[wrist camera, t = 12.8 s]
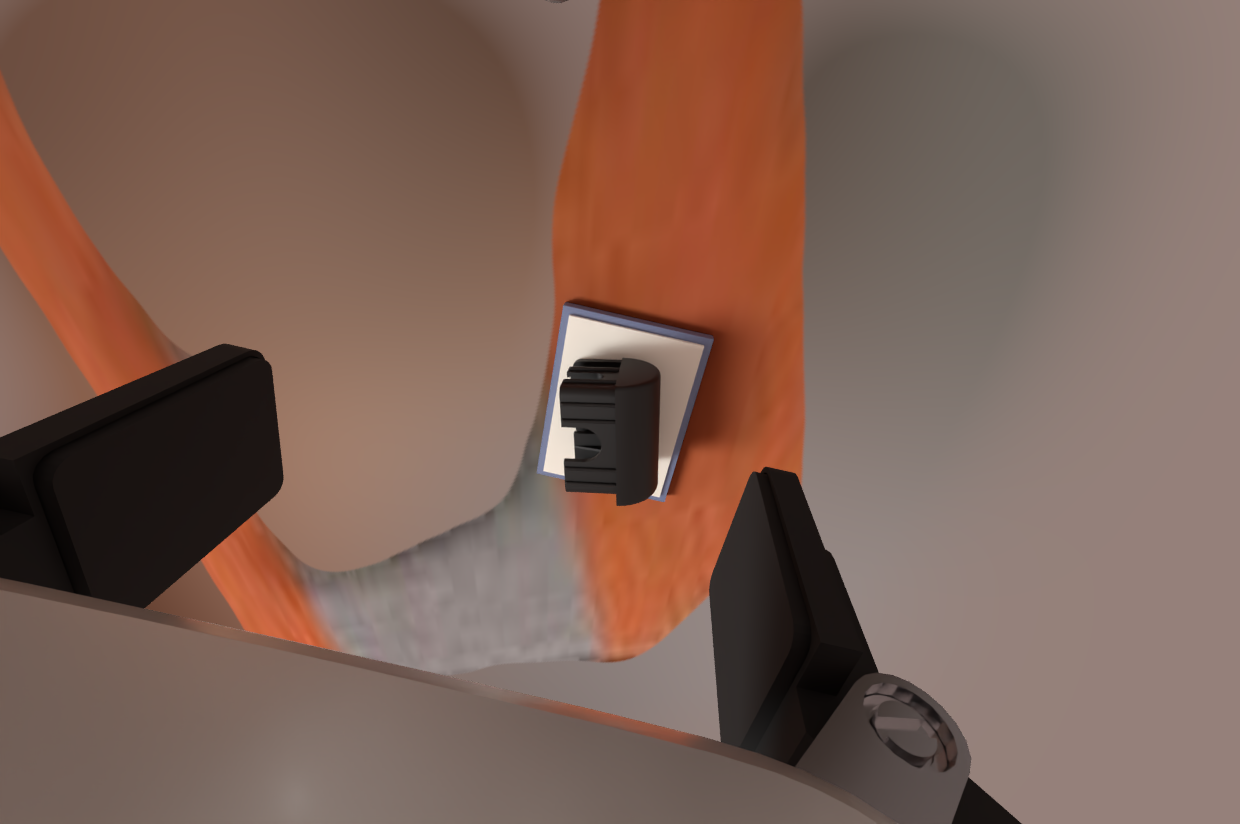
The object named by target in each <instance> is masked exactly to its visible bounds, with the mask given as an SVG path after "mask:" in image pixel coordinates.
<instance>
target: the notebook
mask: <svg viewBox="0 0 1240 824" xmlns="http://www.w3.org/2000/svg"><path fill="white" fill-rule="evenodd" d="M713 340H714V339H713V336H712V335H707V334H703V333H699V332H694V331H690V330H686V329H681V328H677V327H673V326H668V325H664V324H660V323H655V322H651V321H646V320H642V319H638V318H633V317H629V316H625V315H620V314H616V313H612V312H607V311H603V310H599V309H594V308H590V307H586V306H581V305H577V304H572V303H568V302H565V304H564V305H563V311H562V318H561V324H560V330H559V336H558V343H557V349H556V355H555V361H554V368H553V374H552V380H551V387H550V393H549V399H548V405H547V412H546V418H545V424H544V430H543V437H542V443H541V449H540V456H539V462H538V468H537V473H538V474H542V475H547V476H551V477H556V478H560V479H564V480H565V475H564V459H565V458H571V459H575V450H574V431H576V428H568V427H561V415H560V399H559V390H560V385H561V383H562V381H563V379H571V377H567V371H568V369H569V367H570V366H573V364H574V362H575V361H576V360H578V359H608V360H622V358H633V359H639V360H643V361H646V362H649V363H651V364H653V365H654V366H656V367H657V368H658V369H659V371H660V374H661V388H660V424H659V460H658V485H657V489H656V490H655V492H654V493H653V494H652V495H651V496H650V497H649V498H648V499H653V500H657V501H661V502H665V499H666V495H667V492H668V489H669V485H670V482H671V479H672V475H673V472H674V469H675V466H676V462H677V459H678V456H679V452H680V449H681V446H682V443H683V439H684V436H685V433H686V429H687V426H688V423H689V419H690V416H691V413H692V410H693V406H694V403H695V400H696V396H697V393H698V390H699V386H700V383H701V380H702V377H703V373H704V370H705V367H706V363H707V360H708V357H709V354H710V350H711V347H712V344H713Z"/></svg>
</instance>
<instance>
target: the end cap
mask: <svg viewBox="0 0 1240 824" xmlns="http://www.w3.org/2000/svg"><path fill="white" fill-rule="evenodd" d="M567 377H571V379H563V381H562V383H561V385H560V390H559V399H560V415H561V427H568V428H576V431H574V450H575V459H571V458H565V459H564V475H565V489H566V492H586V493H607V494H616V502H617V506H626V505H632V504H636V503H639V502H642V501H644V500H646V499H647V498H649V497H650V496H651V495H652V494H653V493H654V492H655V490H656V489H657V485H658V460H659V424H660V388H661V374H660V371H659V369H658V368H657V367H656V366H654V365H653V364H651V363H649V362H646V361H643V360H639V359H633V358H622V360H608V359H578V360H576V361H575V362H574V364H573V366H570V367H569V369H568V371H567Z"/></svg>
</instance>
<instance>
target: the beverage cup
mask: <svg viewBox="0 0 1240 824" xmlns="http://www.w3.org/2000/svg"><path fill="white" fill-rule="evenodd" d="M546 1H548V2H554V3H562V2H565V1H567V0H546Z"/></svg>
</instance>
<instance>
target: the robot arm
mask: <svg viewBox="0 0 1240 824" xmlns="http://www.w3.org/2000/svg"><path fill="white" fill-rule="evenodd" d="M282 484H283V467H282V458H281V449H280V439H279V430H278V422H277V412H276V403H275V394H274V384H273V375H272V369H271V365H270V364H269V362H267V361H266V360H265V359H264V357H263V355H262V354H261V353H260V352H258V351H256V350H251V349H247V348H243V347H238V346H234V345H230V344H221V345H218V346H215V347H213V348H211V349H208V350H206V351H204V352H201V353H199V354H196V355H194V356H192V357H189V358H187V359H185V360H182V361H180V362H177V363H175V364H173V365H170V366H168V367H166V368H163V369H161V370H159V371H156V372H154V373H151V374H149V375H147V376H144V377H142V378H140V379H137V380H135V381H133V382H130V383H128V384H125V385H123V386H121V387H118V388H116V389H114V390H111V391H109V392H107V393H104V394H102V395H99V396H97V397H95V398H92V399H90V400H88V401H85V402H83V403H81V404H78V405H76V406H73V407H71V408H69V409H66V410H64V411H62V412H59V413H57V414H55V415H52V416H50V417H47V418H45V419H43V420H40V421H38V422H36V423H33V424H31V425H29V426H26V427H24V428H22V429H19V430H17V431H14V432H12V433H10V434H7V435H5V436H3V437H0V824H1021V823H1020V822H1019V821H1018V820H1017V819H1016V818H1015V817H1013V816H1012V815H1011V814H1010V813H1009V812H1008V811H1007V810H1005V809H1004V808H1003V807H1002V806H1001V805H1000V804H999V803H997V802H996V801H995V800H994V799H993V798H992V797H991V796H989V795H988V794H987V793H985V791H984V790H982V789H981V788H980V787H979V786H978V785H977V784H976V783H974V782H973V781H972V780H971V779H970V778H969V773H970V766H971V756H970V752H969V749H968V746H967V742H966V740H965V738H964V736H963V734H962V732H961V731H960V729H959V727H958V725H957V724H956V722H955V721H954V720H953V719H952V718H951V716H950V715H949V714H948V713H947V712H946V710H945V709H944V708H943V707H942V706H941V705H940V704H939V703H938V702H937V701H935V700H934V699H933V698H932V697H931V696H930V695H929V694H927V693H926V692H925V691H923V690H922V689H920V688H918V687H917V686H915V685H914V684H912V683H910V682H909V681H906V680H904V679H901V678H899V677H896V676H894V675H890V674H883V673H879V672H878V669H877V667H876V664H875V662H874V659H873V657H872V654H871V652H870V649H869V647H868V644H867V642H866V639H865V637H864V634H863V631H862V629H861V626H860V624H859V621H858V619H857V616H856V613H855V611H854V608H853V606H852V603H851V601H850V598H849V595H848V593H847V590H846V588H845V586H844V583H843V580H842V578H841V575H840V573H839V570H838V568H837V565H836V562H835V560H834V558H833V556H832V554H831V553H830V552H829V551H827V550H825V548H824V546H823V543H822V540H821V537H820V535H819V532H818V530H817V527H816V524H815V522H814V519H813V516H812V514H811V511H810V508H809V506H808V503H807V500H806V498H805V495H804V492H803V490H802V487H801V485H800V482H799V479H798V477H797V475H796V474H795V473H792V472H788V471H783V470H779V469H774V468H770V467H765V468H763V470H762V471H761V473H758V472H752V474H751V475H750V477H749V480H748V482H747V485H746V487H745V490H744V493H743V495H742V498H741V500H740V503H739V506H738V508H737V511H736V513H735V516H734V519H733V521H732V524H731V526H730V529H729V532H728V534H727V537H726V539H725V542H724V544H723V547H722V550H721V552H720V555H719V557H718V560H717V563H716V565H715V568H714V570H713V573H712V576H711V580H710V588H709V596H710V608H711V621H712V634H713V647H714V658H715V672H716V685H717V698H718V711H719V723H720V736H721V742H719V741H715V740H712V739H708V738H705V737H702V736H698V735H694V734H689V733H685V732H681V731H678V730H674V729H669V728H665V727H661V726H657V725H653V724H649V723H645V722H641V721H637V720H633V719H629V718H625V717H621V716H617V715H613V714H609V713H605V712H601V711H596V710H593V709H588V708H584V707H580V706H575V705H570V704H567V703H562V702H558V701H553V700H549V699H545V698H540V697H536V696H532V695H527V694H523V693H519V692H514V691H510V690H505V689H501V688H497V687H492V686H488V685H483V684H479V683H475V682H470V681H466V680H462V679H457V678H453V677H449V676H444V675H440V674H436V673H431V672H427V671H423V670H418V669H414V668H409V667H405V666H400V665H396V664H392V663H387V662H383V661H378V660H374V659H369V658H365V657H360V656H356V655H351V654H347V653H342V652H338V651H333V650H329V649H325V648H320V647H316V646H311V645H307V644H302V643H298V642H293V641H289V640H284V639H280V638H275V637H271V636H266V635H262V634H257V633H253V632H248V631H244V630H239V629H234V628H230V627H225V626H221V625H217V624H212V623H208V622H202V621H199V620H194V619H189V618H184V617H180V616H175V615H171V614H166V613H162V612H157V611H153V610H148V609H144V608H145V607H146V606H148V605H149V604H150V603H151V602H152V601H154V600H155V599H156V598H157V597H158V596H159V595H160V594H162V593H163V592H164V591H165V590H166V589H167V588H169V587H170V586H171V585H172V584H173V583H174V582H176V581H177V580H178V579H179V578H180V577H181V576H182V575H184V574H185V573H186V572H187V571H188V570H190V569H191V568H192V567H193V566H194V565H195V564H196V563H198V562H199V561H200V560H201V559H202V558H204V557H205V556H206V555H207V554H208V553H209V552H211V551H212V550H213V549H214V548H215V547H216V546H217V545H219V544H220V543H221V542H222V541H223V540H224V539H226V538H227V537H228V536H229V535H230V534H231V533H233V532H234V531H235V530H236V529H237V528H238V527H240V526H241V525H242V524H243V523H244V522H245V521H247V520H248V519H249V518H250V517H251V516H252V515H254V514H255V513H256V512H257V511H258V510H259V509H260V508H262V507H263V506H264V505H265V504H266V503H267V502H268V501H270V500H271V499H272V498H273V497H274V496H275V495H276V494H277V493H278V492H279V490H280V489H281V486H282Z"/></svg>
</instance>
